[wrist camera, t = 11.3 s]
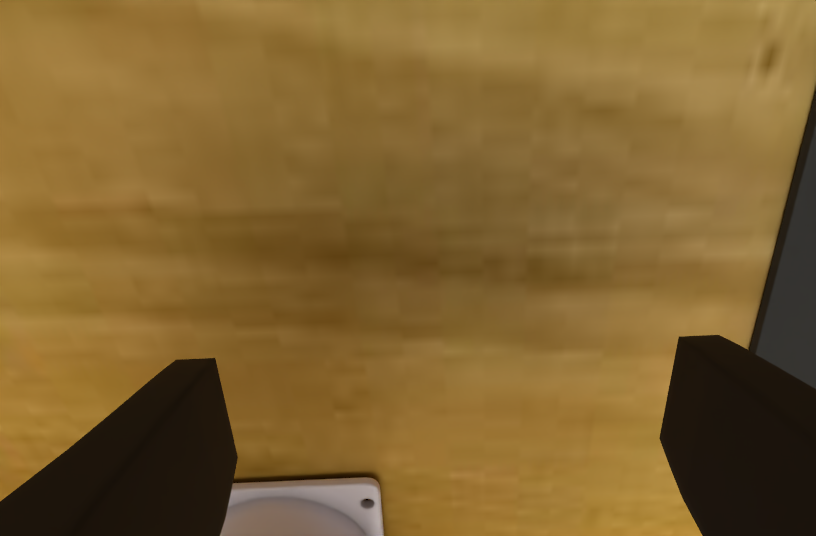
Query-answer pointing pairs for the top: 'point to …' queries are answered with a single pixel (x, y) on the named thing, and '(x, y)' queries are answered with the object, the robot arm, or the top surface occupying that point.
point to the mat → (793, 276)
